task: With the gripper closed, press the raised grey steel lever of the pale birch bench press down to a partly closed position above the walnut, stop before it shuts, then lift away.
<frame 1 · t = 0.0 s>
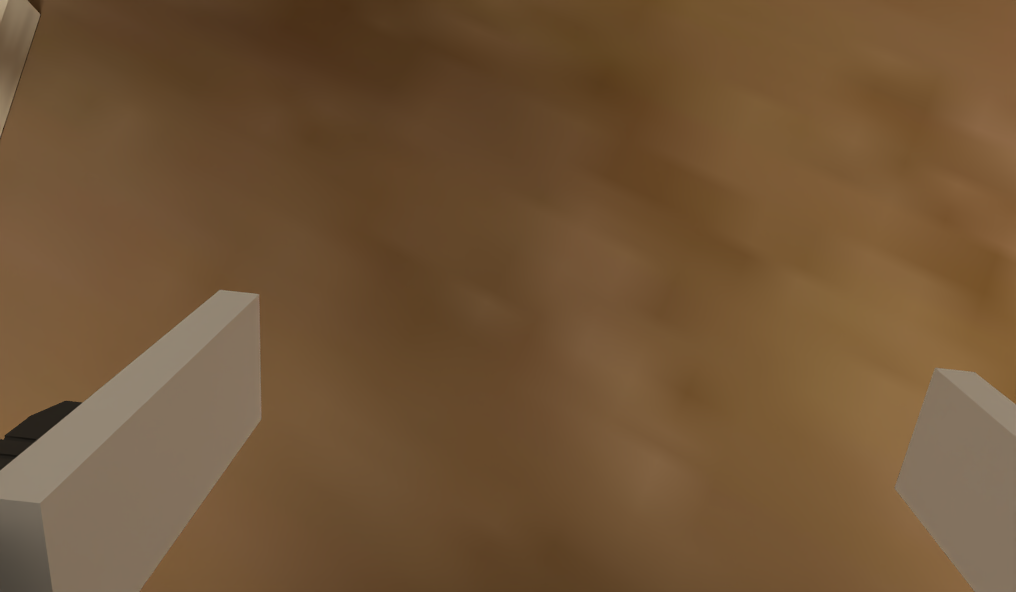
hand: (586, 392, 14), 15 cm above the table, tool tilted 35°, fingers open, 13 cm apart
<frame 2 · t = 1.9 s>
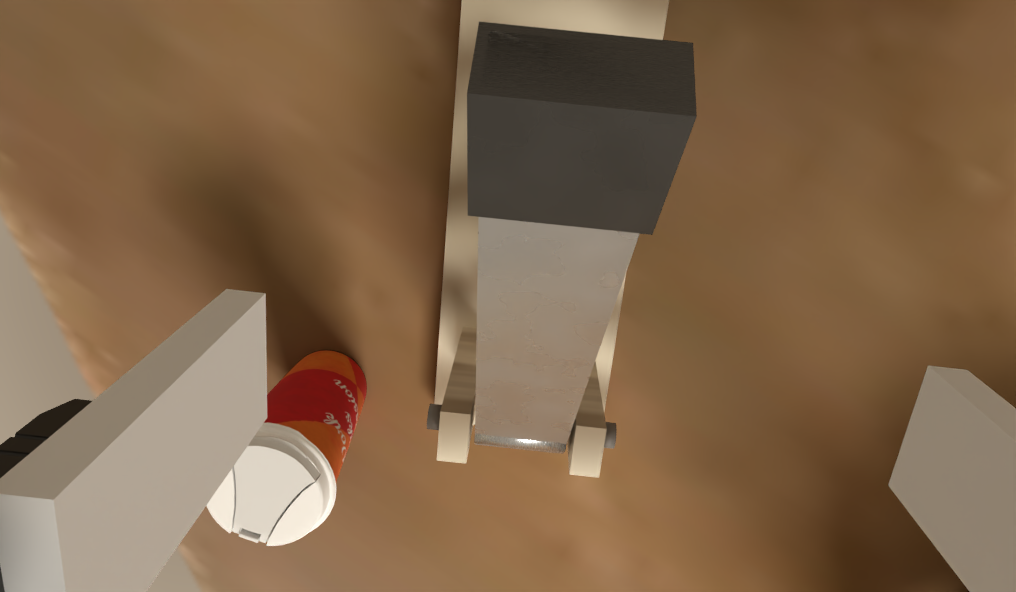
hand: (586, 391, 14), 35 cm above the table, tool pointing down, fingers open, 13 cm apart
press base: (541, 203, 49), on the table
paper cup: (330, 382, 54), on the table
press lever: (539, 321, 30), point 20 cm above the table, hinge at 40.0°
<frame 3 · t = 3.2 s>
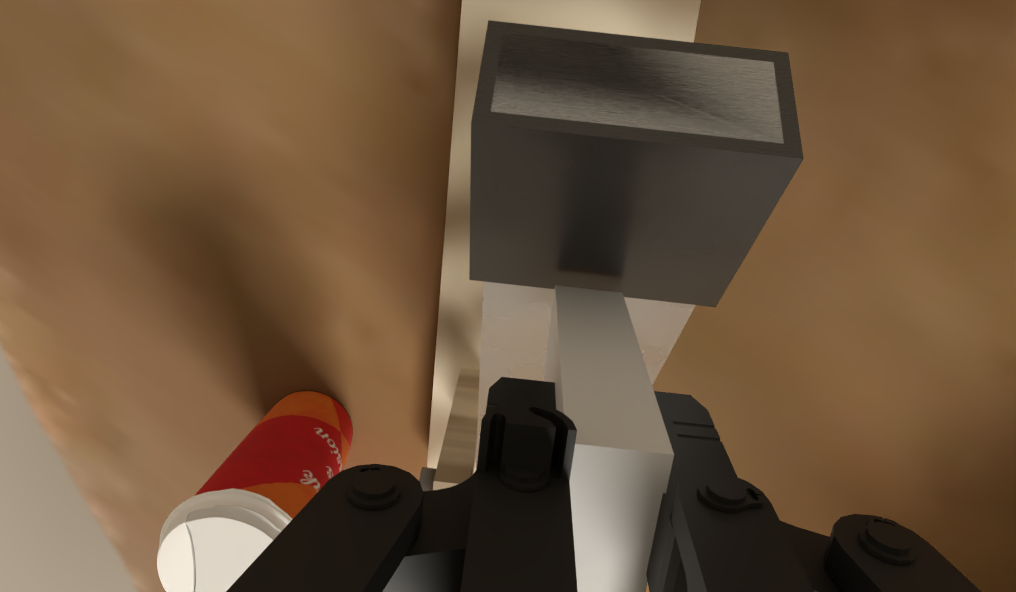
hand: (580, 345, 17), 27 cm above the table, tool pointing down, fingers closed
press base: (550, 230, 43), on the table
paper cup: (312, 425, 49), on the table
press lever: (555, 391, 25), point 20 cm above the table, hinge at 39.5°, touching gripper
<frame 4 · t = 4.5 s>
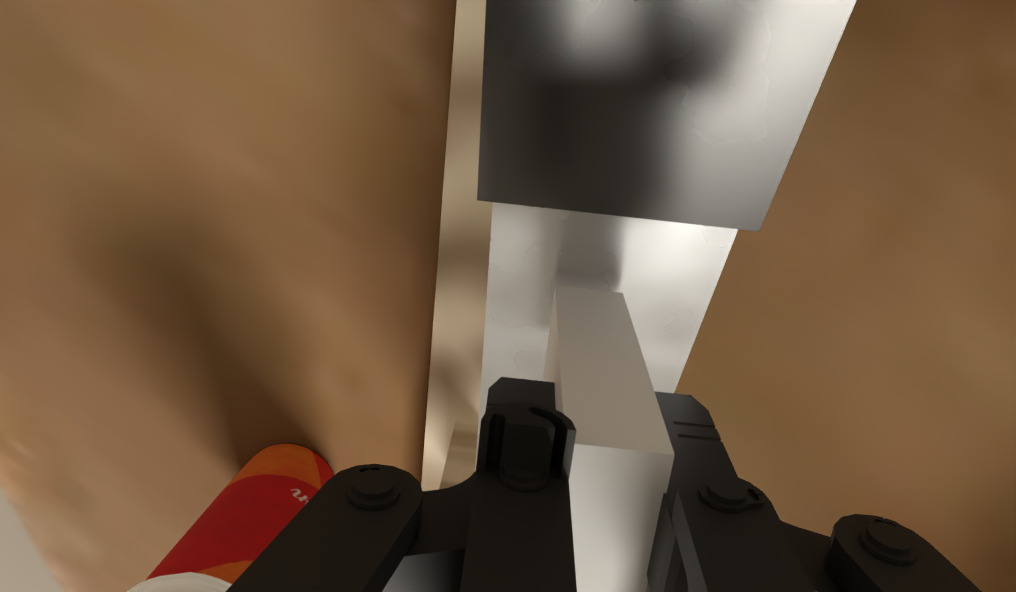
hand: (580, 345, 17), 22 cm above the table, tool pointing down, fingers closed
press base: (555, 269, 39), on the table
paper cup: (292, 481, 44), on the table
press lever: (566, 410, 22), point 18 cm above the table, hinge at 27.8°, touching gripper
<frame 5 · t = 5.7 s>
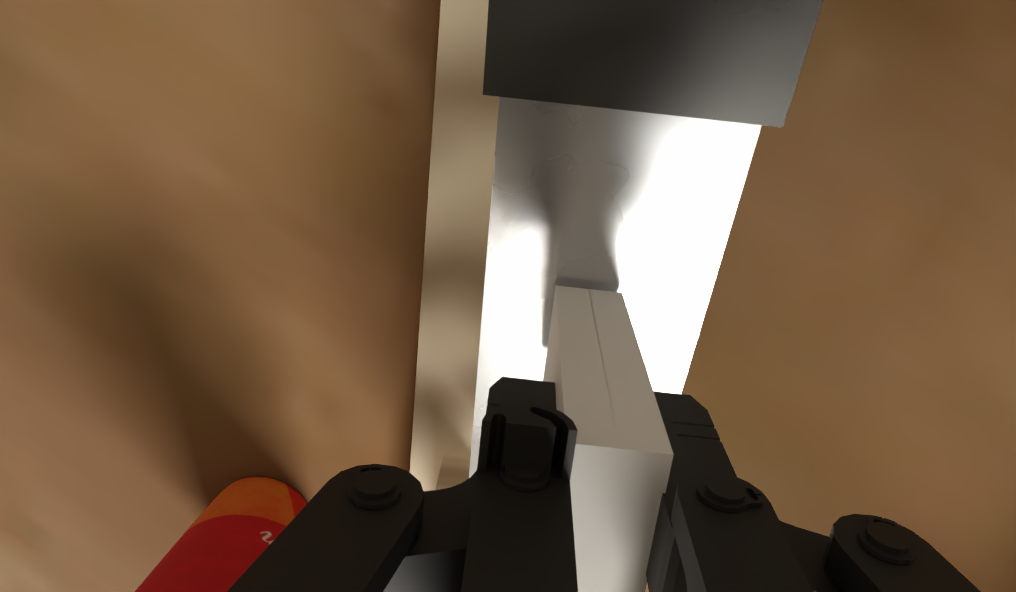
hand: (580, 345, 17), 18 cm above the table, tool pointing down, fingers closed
press base: (554, 287, 35), on the table
paper cup: (266, 516, 40), on the table
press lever: (570, 401, 20), point 15 cm above the table, hinge at 15.9°, touching gripper
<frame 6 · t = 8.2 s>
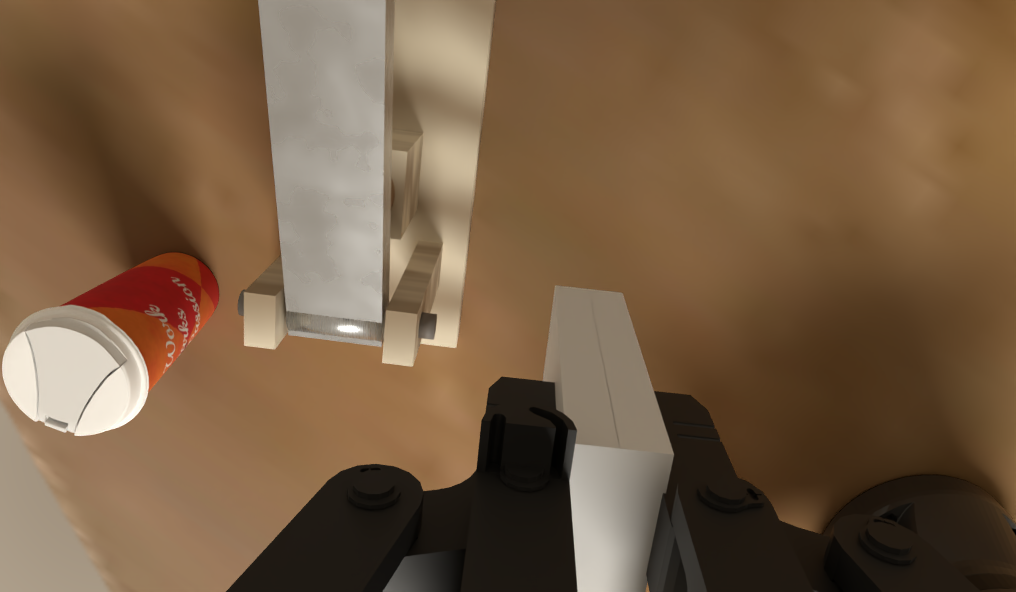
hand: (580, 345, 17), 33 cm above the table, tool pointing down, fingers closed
press base: (390, 99, 47), on the table
paper cup: (182, 287, 52), on the table
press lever: (331, 95, 32), point 15 cm above the table, hinge at 15.9°
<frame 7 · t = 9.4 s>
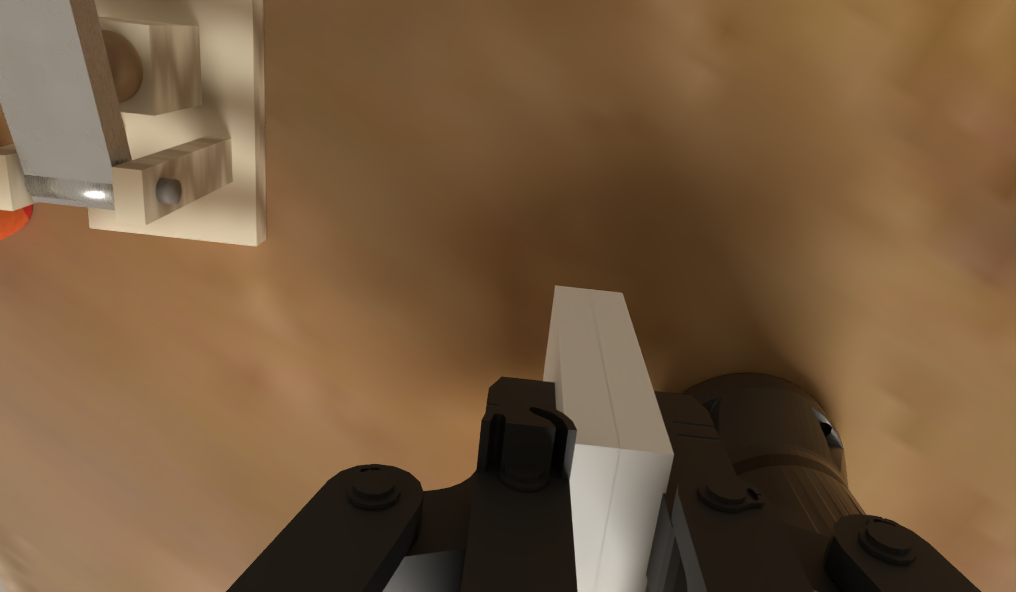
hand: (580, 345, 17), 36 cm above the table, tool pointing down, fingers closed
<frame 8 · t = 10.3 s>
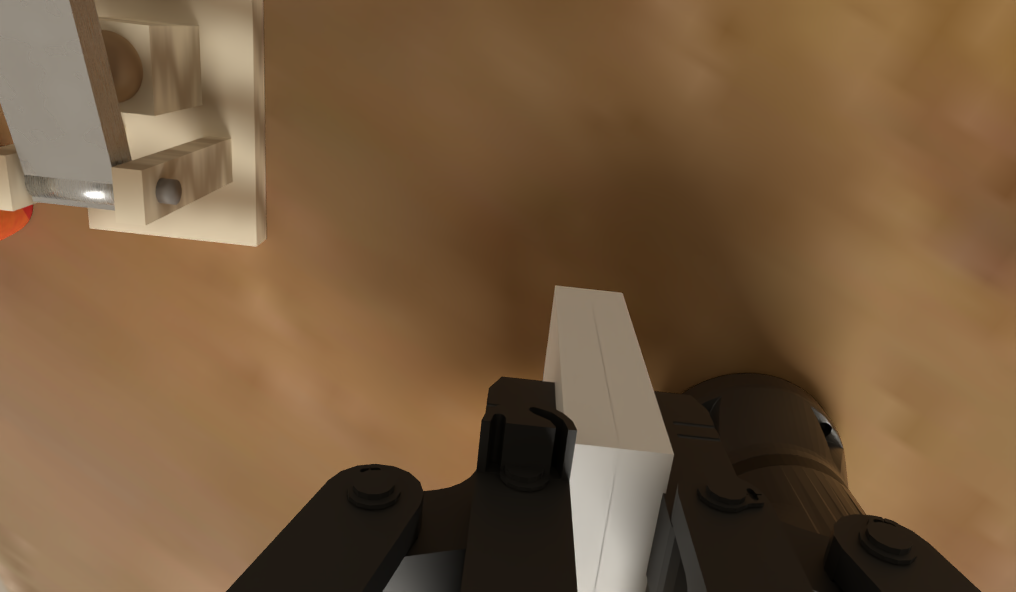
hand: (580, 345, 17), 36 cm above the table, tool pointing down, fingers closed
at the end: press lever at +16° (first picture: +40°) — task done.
